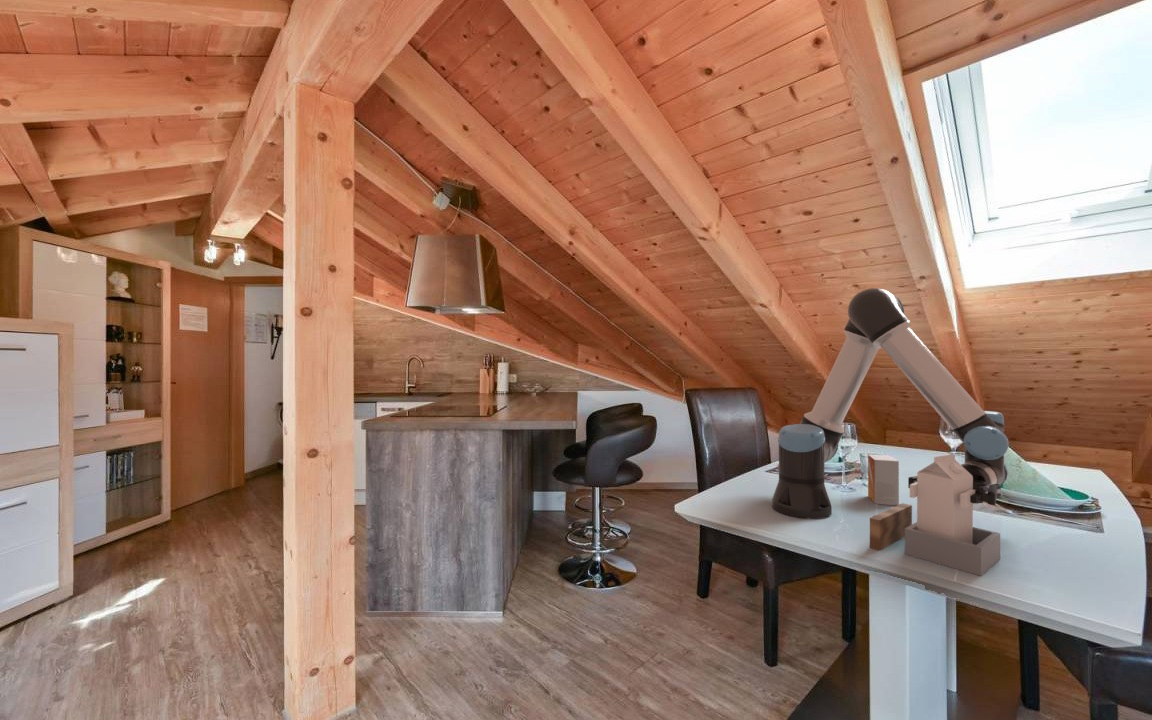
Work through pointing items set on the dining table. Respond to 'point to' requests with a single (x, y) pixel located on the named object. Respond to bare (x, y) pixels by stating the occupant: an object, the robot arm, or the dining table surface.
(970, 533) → the milk carton
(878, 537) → the walnut wall
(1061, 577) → the dining table surface
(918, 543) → the tray
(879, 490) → the small box
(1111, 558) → the dining table surface
